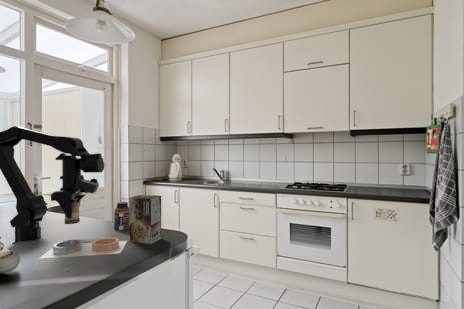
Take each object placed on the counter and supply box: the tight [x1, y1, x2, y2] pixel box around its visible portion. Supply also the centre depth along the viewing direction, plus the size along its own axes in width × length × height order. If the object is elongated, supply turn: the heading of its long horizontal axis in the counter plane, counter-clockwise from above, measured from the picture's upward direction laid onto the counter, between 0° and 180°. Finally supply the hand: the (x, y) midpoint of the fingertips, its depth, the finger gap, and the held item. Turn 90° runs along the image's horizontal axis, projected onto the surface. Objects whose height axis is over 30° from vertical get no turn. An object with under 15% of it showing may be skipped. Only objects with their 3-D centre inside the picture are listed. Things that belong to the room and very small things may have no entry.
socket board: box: [38, 240, 128, 260], centre depth 86 cm, size 22×12×1 cm, turn 101°
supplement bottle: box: [113, 201, 130, 232], centre depth 110 cm, size 6×6×11 cm
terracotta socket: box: [91, 237, 120, 252], centre depth 87 cm, size 8×8×2 cm
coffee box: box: [128, 194, 162, 245], centre depth 95 cm, size 9×6×16 cm
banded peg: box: [64, 202, 81, 225], centre depth 97 cm, size 5×5×7 cm
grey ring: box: [52, 239, 83, 255], centre depth 85 cm, size 8×8×2 cm
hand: (72, 216), depth 97 cm, fingers closed on banded peg, 4 cm apart
